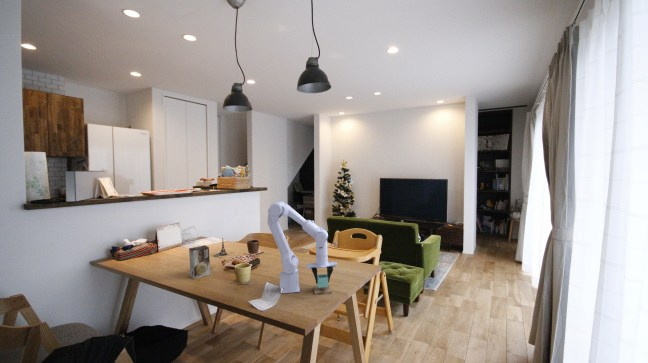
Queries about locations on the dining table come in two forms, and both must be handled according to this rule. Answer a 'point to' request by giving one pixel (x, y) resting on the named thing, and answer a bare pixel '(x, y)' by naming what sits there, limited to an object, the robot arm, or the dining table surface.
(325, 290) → the pin plate
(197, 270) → the coffee box
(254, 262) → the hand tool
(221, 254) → the eiffel tower figurine
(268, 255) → the dining table surface
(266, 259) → the dining table surface
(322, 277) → the teal hollow block
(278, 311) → the dining table surface
